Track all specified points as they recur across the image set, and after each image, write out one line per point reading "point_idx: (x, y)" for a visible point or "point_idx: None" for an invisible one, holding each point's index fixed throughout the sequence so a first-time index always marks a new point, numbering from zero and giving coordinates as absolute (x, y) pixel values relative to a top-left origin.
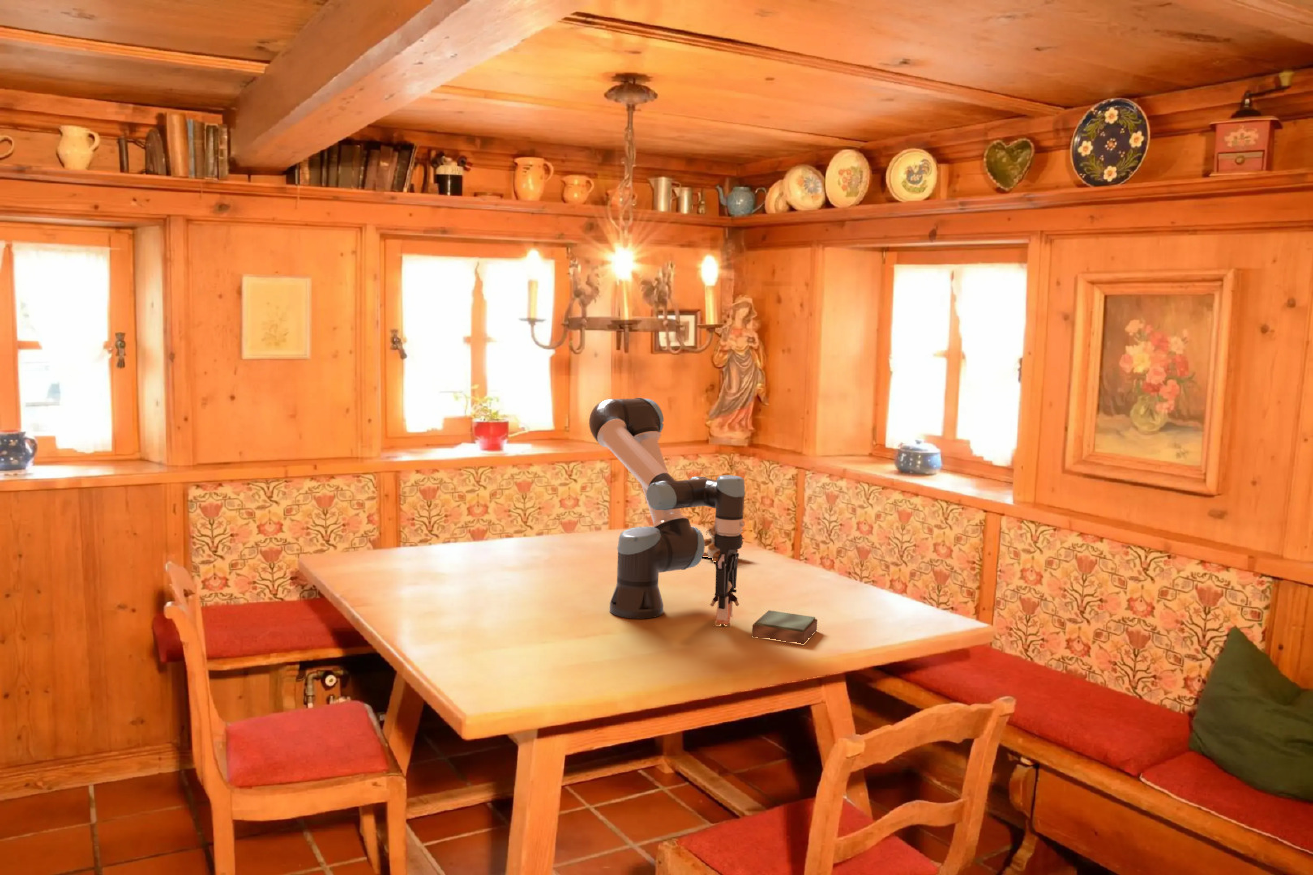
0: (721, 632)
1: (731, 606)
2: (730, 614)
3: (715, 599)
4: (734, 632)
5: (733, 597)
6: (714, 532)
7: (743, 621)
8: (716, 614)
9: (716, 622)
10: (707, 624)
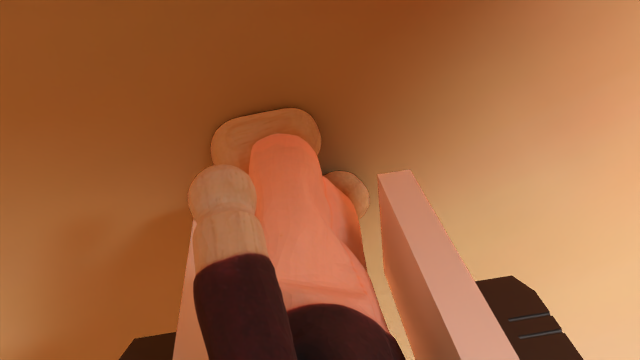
0: (64, 278)
1: (415, 356)
2: (388, 281)
3: (201, 326)
4: None
5: None
6: None
7: (517, 268)
8: (254, 184)
9: (234, 156)
10: (209, 43)
